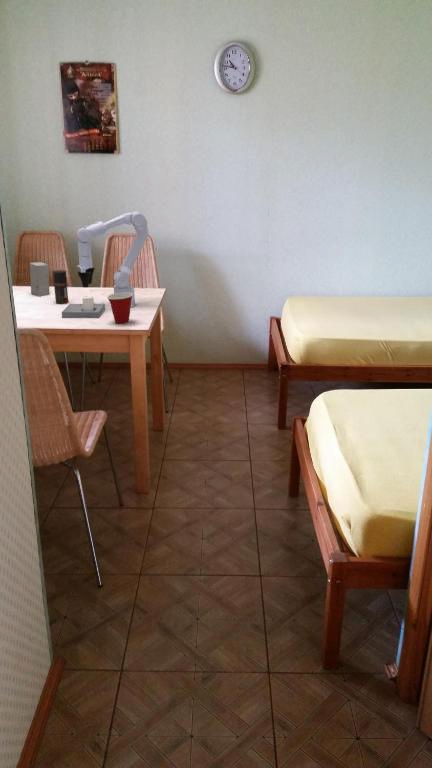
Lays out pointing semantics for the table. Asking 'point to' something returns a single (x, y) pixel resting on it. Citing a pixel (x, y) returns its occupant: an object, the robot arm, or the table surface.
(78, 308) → the outlet plate
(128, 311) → the plastic cup
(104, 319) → the table surface
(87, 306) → the beige rectangular block
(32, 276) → the skincare box
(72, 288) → the table surface
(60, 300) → the deodorant
